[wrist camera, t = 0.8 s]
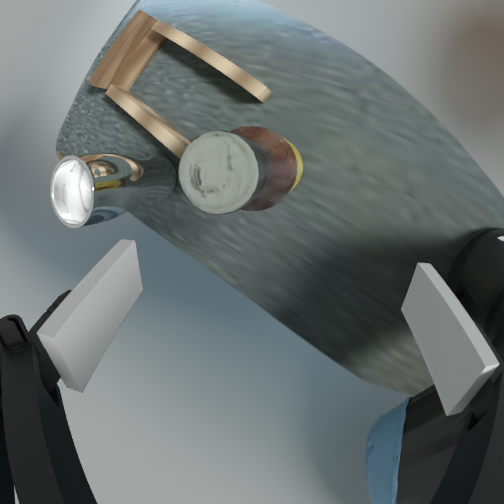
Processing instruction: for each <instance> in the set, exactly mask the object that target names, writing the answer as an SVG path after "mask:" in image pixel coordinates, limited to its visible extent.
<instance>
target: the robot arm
mask: <svg viewBox="0 0 504 504" xmlns="http://www.w3.org/2000/svg"><path fill="white" fill-rule="evenodd" d="M142 291H143V287H142V282H141V276H140V270H139V263H138V256H137V250H136V243H135V240H124V239H121V240H120V241H119V242H118V243H117V244H116V245H115V246H114V247H113V248H112V249H111V250H110V251H109V252H108V253H107V254H106V255H105V256H104V257H103V258H102V259H101V260H100V261H99V262H98V263H97V264H96V265H95V266H94V267H93V269H91V271H90V272H89V273H88V274H87V275H86V276H85V277H84V278H83V279H82V280H81V281H80V282H79V283H78V285H77V286H76V287H75V288H74V289H73V290H68V291H66V292H65V293H64V294H62V295H60V296H59V297H58V298H57V299H56V300H55V302H54V303H53V304H52V306H50V307H49V308H48V309H47V312H45V313H44V314H43V315H42V316H41V318H40V319H39V320H38V321H37V322H36V324H35V325H34V326H33V327H32V328H31V329H30V331H29V332H28V331H27V329H26V327H25V325H24V323H23V321H22V318H20V317H19V316H18V315H14V314H13V315H7V316H5V317H3V318H1V319H0V504H15V494H14V486H15V490H16V493H17V497H18V500H19V504H97V502H96V500H95V498H94V495H93V493H92V491H91V488H90V486H89V484H88V481H87V479H86V476H85V474H84V471H83V468H82V466H81V463H80V460H79V457H78V454H77V451H76V448H75V445H74V442H73V439H72V436H71V432H70V429H69V425H68V422H67V419H66V414H65V410H64V406H63V402H62V397H61V393H60V389H59V387H58V385H57V382H58V381H59V379H60V377H61V379H62V380H63V382H64V384H65V385H66V387H68V388H71V389H73V390H76V391H79V392H82V393H83V391H84V389H85V387H86V385H87V384H88V382H89V380H90V378H91V376H92V374H93V373H94V371H95V369H96V367H97V366H98V364H99V362H100V360H101V358H102V357H103V355H104V353H105V351H106V350H107V348H108V346H109V344H110V343H111V341H112V339H113V338H114V336H115V334H116V333H117V331H118V329H119V328H120V326H121V324H122V323H123V321H124V319H125V318H126V316H127V315H128V313H129V311H130V310H131V308H132V307H133V305H134V303H135V302H136V300H137V298H138V297H139V295H140V294H141V292H142ZM401 311H402V313H403V315H404V317H405V319H406V321H407V323H408V325H409V327H410V329H411V331H412V334H413V336H414V338H415V340H416V342H417V344H418V347H419V349H420V351H421V353H422V356H423V358H424V360H425V362H426V365H427V367H428V370H429V372H430V374H431V377H432V379H433V382H434V384H433V385H432V386H430V387H429V388H427V389H426V390H424V391H422V392H421V393H419V394H417V395H416V396H414V397H412V396H410V397H408V398H407V399H406V400H405V401H404V402H403V403H402V404H400V405H399V406H397V407H395V408H393V409H392V410H390V411H388V412H386V413H385V414H383V415H382V416H380V417H379V418H378V419H377V420H376V421H375V422H374V424H373V425H372V427H371V429H370V431H369V434H368V438H367V442H366V454H365V473H366V481H367V487H368V491H369V494H370V498H371V500H372V503H373V504H504V229H493V230H490V231H487V232H485V233H483V234H481V235H479V236H478V237H476V238H475V239H474V240H472V241H471V242H470V243H469V244H468V245H467V246H466V248H465V249H464V250H463V251H462V253H461V254H460V255H459V257H458V259H457V260H456V262H455V264H454V266H453V268H452V271H451V273H450V276H449V279H448V283H447V284H446V283H445V282H444V280H443V279H442V278H441V276H440V275H439V274H438V273H437V271H436V270H435V269H434V268H433V266H432V265H431V264H429V263H417V266H416V269H415V272H414V275H413V278H412V281H411V284H410V286H409V289H408V292H407V295H406V297H405V300H404V302H403V305H402V308H401Z"/></svg>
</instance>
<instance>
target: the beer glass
mask: <svg viewBox="0 0 504 504" xmlns="http://www.w3.org/2000/svg"><path fill="white" fill-rule="evenodd" d="M176 180H177V176H176V170H175V167H174V165H173V164H172V162H171V161H170V160H169V159H168V158H166V157H165V156H162V155H151V156H148V157H145V158H137V157H133V156H129V155H125V154H121V153H115V152H91V153H84V154H79V155H73V156H67V157H64V158H63V159H62V160H60V161H59V163H58V164H57V165H56V167H55V169H54V171H53V174H52V178H51V183H50V196H51V202H52V206H53V209H54V212H55V213H56V216H57V217H58V218H59V220H60V221H61V222H62V223H63V224H64V225H65V226H67V227H69V228H79V227H82V226H87V225H92V224H97V223H101V222H104V221H108V220H111V219H113V218H116V217H118V216H120V215H122V214H124V213H126V212H128V211H130V210H131V209H133V208H135V207H136V206H138V205H139V204H141V203H143V202H146V201H152V202H158V201H162V200H164V199H166V198H168V197H169V196H170V195H171V194H172V192H173V190H174V188H175V185H176Z"/></svg>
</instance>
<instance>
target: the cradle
mask: <svg viewBox="0 0 504 504" xmlns="http://www.w3.org/2000/svg"><path fill="white" fill-rule="evenodd" d="M167 38H168V39H169V40H171V41H173V42H174V43H176V44H178V45H180V46H181V47H183V48H184V49H186V50H188V51H189V52H191V53H193V54H194V55H196V56H197V57H199V58H200V59H202V60H203V61H205V62H206V63H208V64H210V65H211V66H213V67H214V68H216V69H217V70H218V71H220V72H221V73H223V74H224V75H226V76H227V77H229V78H230V79H231V80H233V81H234V82H236V83H237V84H238V85H240V86H241V87H243V88H244V89H245V90H247V91H248V92H249V93H251V94H252V95H253V96H255V97H256V98H257V99H259V100H260V101H261V102H262V103H264V102H265V101H266V100H267V99H268V98H269V97H270V96H271V95H272V93H271V92H270V91H269V89H268V88H267V87H266V86H264V85H263V84H262V83H260V82H259V81H257V80H256V79H255V78H253V77H252V76H250V75H249V74H248V73H246V72H245V71H243V70H242V69H240V68H239V67H237V66H236V65H234V64H233V63H231V62H230V61H228V60H227V59H225V58H224V57H222V56H221V55H219V54H218V53H216V52H214V51H213V50H211V49H210V48H208V47H206V46H205V45H203V44H201V43H200V42H198V41H196V40H195V39H193V38H191V37H189V36H188V35H186V34H184V33H182V32H180V31H179V30H177V29H175V28H173V27H171V26H169V25H168V24H166V23H164V22H162V21H160V20H158V21H157V20H156V19H154V18H153V17H151V16H150V15H148V14H147V13H145V12H143V11H141V10H138V12H137V13H136V14H135V15H134V16H133V18H132V19H131V20H130V21H129V23H128V24H127V25H126V27H125V28H124V29H123V31H122V32H121V33H120V35H119V36H118V37H117V39H116V40H115V42H114V43H113V44H112V46H111V47H110V49H109V50H108V52H107V53H106V55H105V56H104V58H103V59H102V61H101V62H100V64H99V65H98V67H97V68H96V70H95V72H94V73H93V75H92V77H91V78H90V80H89V83H90V84H91V85H92V86H94V87H99V88H104V89H108V90H107V92H106V93H105V94H107V95H108V96H109V97H110V98H111V99H112V100H114V101H115V102H116V103H117V104H118V105H119V106H120V107H122V108H123V109H124V110H125V111H126V112H127V113H129V114H130V115H131V116H132V117H133V118H134V119H135V120H137V121H138V122H139V123H140V124H141V125H142V126H143V127H145V128H146V129H147V130H148V131H149V132H150V133H151V134H152V135H154V136H155V137H156V138H157V139H158V140H159V141H160V142H162V143H163V144H164V145H165V146H166V147H167V148H168V149H169V150H171V151H172V152H173V153H174V154H175V155H176V156H177V157H178V158H179V159H181V157H182V154H183V152H184V151H185V149H186V147H187V146H188V145H189V144H190V143H191V142H190V141H189V140H188V139H186V138H185V137H184V136H183V135H182V134H181V133H179V132H178V131H177V130H176V129H175V128H174V127H172V126H171V125H170V124H169V123H168V122H166V121H165V120H164V119H163V118H162V117H160V116H159V115H158V114H157V113H156V112H154V111H153V110H152V109H151V108H149V107H148V106H147V105H146V104H145V103H143V102H142V101H141V100H140V99H138V98H137V97H136V96H135V95H133V94H132V93H131V92H130V91H129V89H130V88H131V86H132V85H133V83H134V82H135V80H136V79H137V78H138V76H139V75H140V73H141V72H142V70H143V69H144V68H145V66H146V65H147V64H148V62H149V61H150V60H151V58H152V57H153V56H154V54H155V53H156V52H157V50H158V49H159V48H160V47H161V45H162V44H163V43H164V42H165V40H166V39H167Z"/></svg>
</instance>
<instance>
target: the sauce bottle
mask: <svg viewBox="0 0 504 504" xmlns="http://www.w3.org/2000/svg"><path fill="white" fill-rule="evenodd" d="M302 172H303V162H302V158H301V156H300V153H299V152H298V150H297V149H296V148H295V147H294V146H293V145H292V144H291V143H290V142H289V141H287V140H286V139H285V138H283V137H282V136H280V135H279V134H277V133H275V132H273V131H270V130H268V129H265V128H261V127H254V126H250V127H241V128H238V129H235V130H233V131H231V132H229V131H223V130H215V131H210V132H206V133H204V134H202V135H200V136H199V137H197V138H195V139H194V140H193V141H192V142H191V143H190V144H189V145H188V146H187V147H186V149H185V151H184V152H183V154H182V157H181V160H180V162H179V171H178V175H179V182H180V184H181V187H182V190H183V192H184V194H185V195H186V197H187V199H188V200H189V201H190V202H191V203H192V204H193V205H194V206H196V207H197V208H199V209H200V210H201V211H203V212H206V213H209V214H217V215H219V214H228V213H232V212H235V211H237V210H240V209H242V210H246V211H260V210H265V209H268V208H270V207H272V206H274V205H276V204H278V203H279V202H280V201H281V200H283V199H284V198H285V197H286V196H287V195H288V193H289V192H290V191H291V190H292V189H293V188H294V187H295V186H296V185H297V183H298V182H299V180H300V178H301V176H302Z"/></svg>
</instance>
